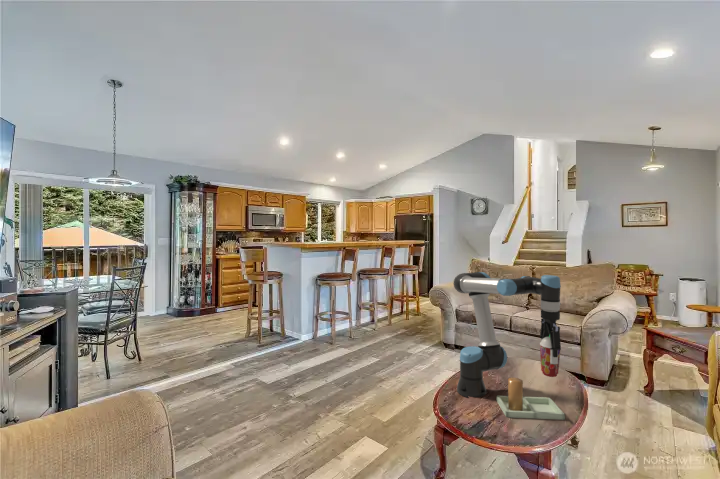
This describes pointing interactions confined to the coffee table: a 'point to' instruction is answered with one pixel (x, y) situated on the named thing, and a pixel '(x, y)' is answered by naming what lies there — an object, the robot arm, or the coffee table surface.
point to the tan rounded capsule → (515, 394)
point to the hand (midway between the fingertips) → (549, 359)
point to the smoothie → (548, 358)
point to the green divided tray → (533, 408)
